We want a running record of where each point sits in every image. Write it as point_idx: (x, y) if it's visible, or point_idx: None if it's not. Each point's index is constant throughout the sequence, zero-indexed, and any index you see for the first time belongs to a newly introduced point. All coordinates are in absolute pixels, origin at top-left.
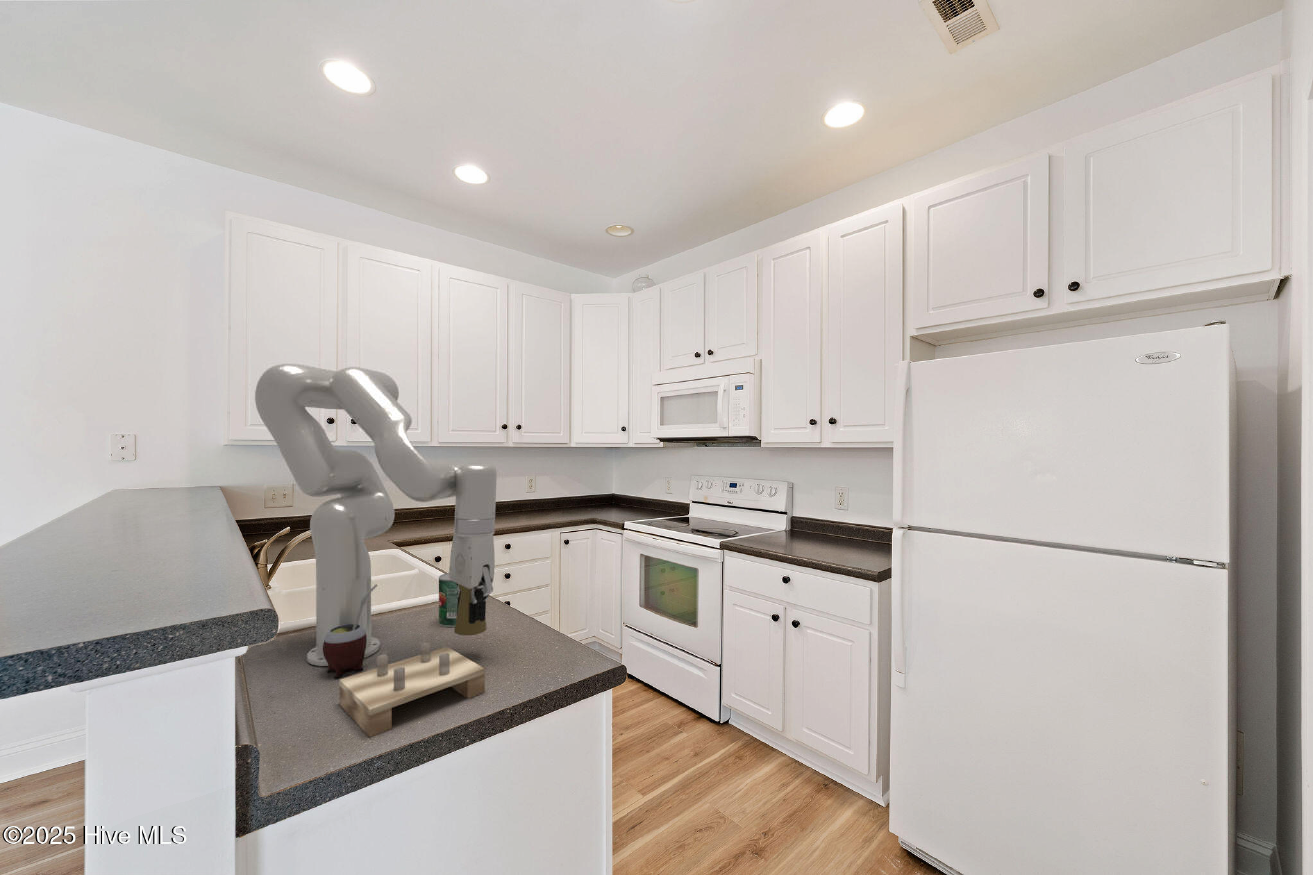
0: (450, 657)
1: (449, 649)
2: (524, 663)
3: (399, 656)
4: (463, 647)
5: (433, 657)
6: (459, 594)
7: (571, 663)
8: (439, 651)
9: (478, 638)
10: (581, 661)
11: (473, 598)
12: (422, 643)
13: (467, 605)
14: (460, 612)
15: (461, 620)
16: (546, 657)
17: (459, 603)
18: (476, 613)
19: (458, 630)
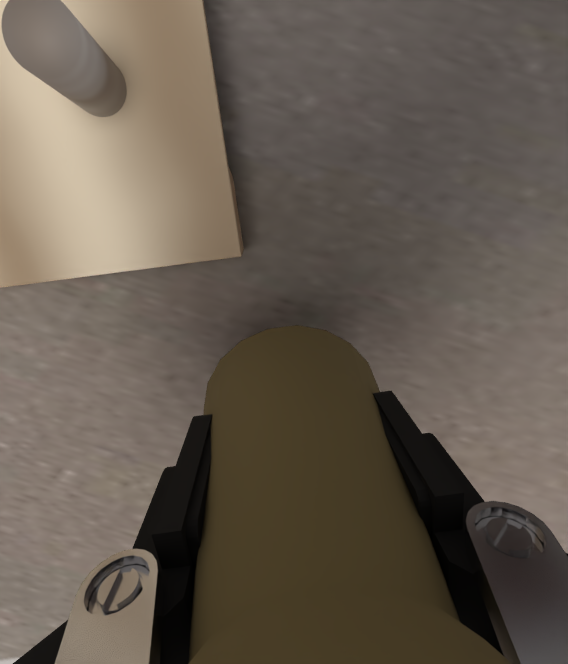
0: (70, 220)
1: (193, 253)
2: (102, 482)
3: (511, 119)
4: (399, 365)
5: (124, 140)
6: (465, 528)
7: (9, 590)
8: (198, 200)
9: (441, 434)
10: (7, 616)
11: (131, 611)
12: (65, 12)
13: (217, 494)
14: (276, 408)
15: (252, 382)
16: (107, 551)
17: (337, 453)
18: (153, 496)
19: (262, 341)
